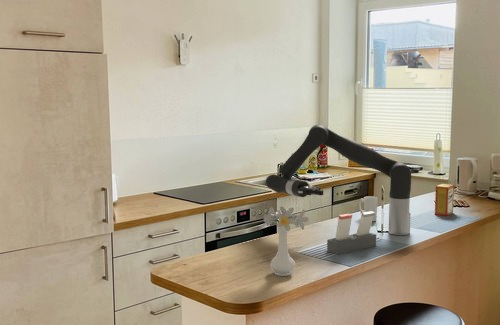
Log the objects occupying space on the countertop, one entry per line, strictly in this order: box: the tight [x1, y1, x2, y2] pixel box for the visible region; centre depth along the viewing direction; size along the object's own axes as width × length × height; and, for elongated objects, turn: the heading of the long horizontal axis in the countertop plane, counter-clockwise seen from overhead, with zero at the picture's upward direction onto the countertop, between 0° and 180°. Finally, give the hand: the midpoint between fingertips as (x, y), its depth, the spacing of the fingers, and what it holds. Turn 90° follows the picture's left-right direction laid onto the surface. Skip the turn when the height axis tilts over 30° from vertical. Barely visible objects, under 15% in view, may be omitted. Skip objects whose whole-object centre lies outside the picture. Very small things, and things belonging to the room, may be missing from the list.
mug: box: [358, 195, 378, 222], centre depth 296 cm, size 10×7×12 cm, turn 51°
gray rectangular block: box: [326, 232, 377, 255], centre depth 244 cm, size 23×6×6 cm, turn 124°
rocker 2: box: [355, 211, 375, 236], centre depth 245 cm, size 6×2×11 cm, turn 124°
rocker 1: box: [334, 212, 353, 240], centre depth 239 cm, size 6×2×11 cm, turn 124°
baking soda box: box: [434, 183, 455, 217], centre depth 309 cm, size 10×6×16 cm
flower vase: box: [261, 205, 309, 277], centre depth 211 cm, size 13×18×25 cm
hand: (322, 192), depth 249 cm, fingers closed
